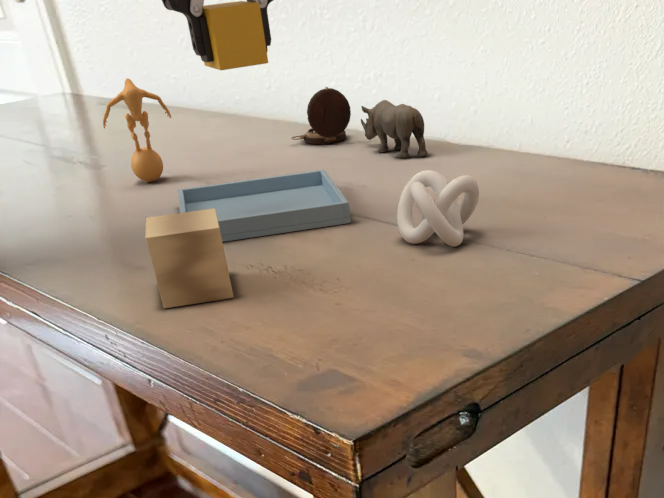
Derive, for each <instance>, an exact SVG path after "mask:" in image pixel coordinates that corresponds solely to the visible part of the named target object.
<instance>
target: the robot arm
mask: <svg viewBox="0 0 664 498" xmlns="http://www.w3.org/2000/svg"><path fill="white" fill-rule="evenodd" d="M204 1H205V0H161V2H162V4H163V7H164V8H165V9H166V10H168V11H174V12H176V13H179V14H182V15H183V16H184V17H185V18H186V20H187V26H188V31H189V35H190V40H191V46H192V50H193V52H194V53H195V56H198V57H200V59H201V61H202V62H203V63H204V62H213V61H214V57H213V51H212V46H211V40H210V35H209V30H208V24H207V19H206V17H203V6H205V4H204V3H205V2H204ZM273 1H274V0H246V2H256V3H259V4H260V11H261V17H262V24H263V30H264V37H265V44H266V50H267V52H268V51H269V50H268V47H270V46H271V43H272V35H271V34H272V33H271V29H270V28H271V27H270V21H269V15H268V7H269V5H270V4H271V2H273Z"/></svg>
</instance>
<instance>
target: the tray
mask: <svg viewBox="0 0 664 498" xmlns="http://www.w3.org/2000/svg"><path fill="white" fill-rule="evenodd" d="M177 196H178V198H177V199H178V206H179V207H178V208H179V209H178V210H179V213H184V212H192V211H199V210H206V209H213V208H215V210H216V215H217V219H218V223H219V228H220V233H221V238H222V243H223V242H224V243H225V242H231V241H239V240H245V239H251V238H257V237H265V236H273V235H277V234H278V235H279V234H285V233H292V232H293V233H294V232H299V231H305V230H311V229H313V230H314V229H319V228H325V227H332V226H339V225H347V224H351V222H352V221H351V211H350V203H349V201H348V199H347V198H346V197H345V196H344V194H343V193H342V191H341V190H340V189H339V187H338V186H337V185H336V183H335V181H334V180H333V179H332V178H331V176H330V175H329V173H328V172H327V171H326V169H318V170H310V171H302V172H295V173H289V174H288V173H287V174H280V175H273V176H267V177H259V178H252V179H251V178H250V179H244V180H237V181H229V182H222V183H215V184H208V185H200V186H193V187H185V188H179V189H177Z"/></svg>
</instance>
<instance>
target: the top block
mask: <svg viewBox="0 0 664 498" xmlns="http://www.w3.org/2000/svg"><path fill="white" fill-rule="evenodd" d="M203 17H206V19H207V24H208V30H209V35H210V40H211V46H212V51H213V57H214V61H213V62H203V63H204V66H205V67H208V68H212V69H215V70H218V71H226V70H227V71H228V70H232V69H239V68H246V67H253V66H258V65H259V66H260V65H264V64H265V65H266V64H269V58H268V51H267V50H266V44H265V37H264V30H263V24H262V17H261V11H260V4H259V3H256V2H247V0H246V1H245V0H238V1H230V2H229V1H228V2H222V3H214V4H206V5H205V4H204V5H203Z"/></svg>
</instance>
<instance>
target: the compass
mask: <svg viewBox="0 0 664 498" xmlns="http://www.w3.org/2000/svg"><path fill="white" fill-rule="evenodd" d="M351 112H352V111H351V106H350V103H349V100H348V99H347V97H346V96H345V95H344V94H343V93H342V92H340V91H339V90H338V89H334V88H332V87H331V88H330V87H328V86H325V87H324V88H321V89H319V90H318V91H317V92H315V93H314V94H313V96H311V98H310V99H309V102H308V104H307V108H306V114H307V121H308V124H309V126H310V127H311V128H309V129H307V131H306V132H305V133H304V134H300V135H295V136H292V137H291V140H293V141H296V140H298V141H299V140H303V141H304V142H305V143H307V144H311V145H325V144H333V143H338V142H341V141H343V140H345V138H346V137H347V133H346V129H347V127H348V125H349V123H350V121H351V116H352V113H351Z"/></svg>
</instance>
